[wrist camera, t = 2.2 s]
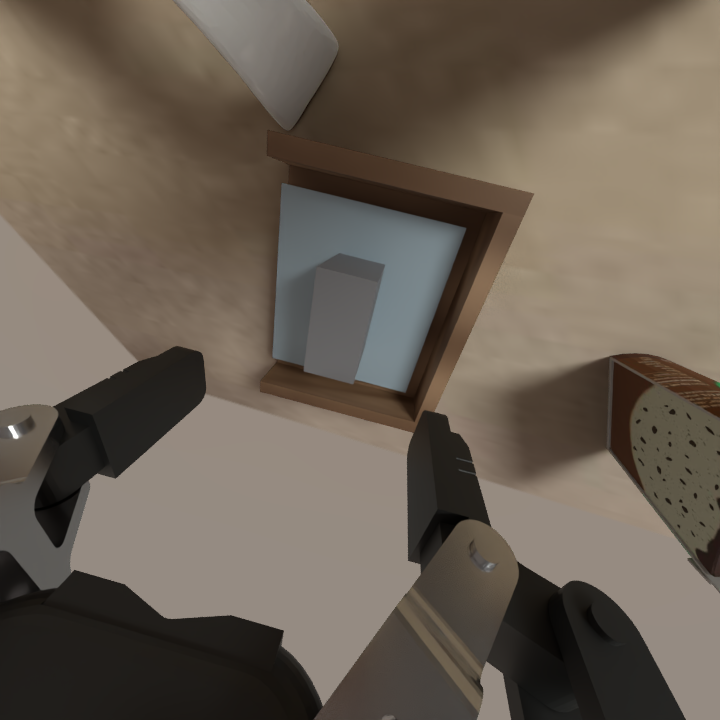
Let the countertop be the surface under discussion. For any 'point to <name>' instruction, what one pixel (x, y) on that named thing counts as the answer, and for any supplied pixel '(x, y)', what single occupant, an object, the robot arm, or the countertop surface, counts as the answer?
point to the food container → (670, 448)
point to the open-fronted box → (462, 290)
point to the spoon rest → (270, 48)
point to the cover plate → (366, 239)
